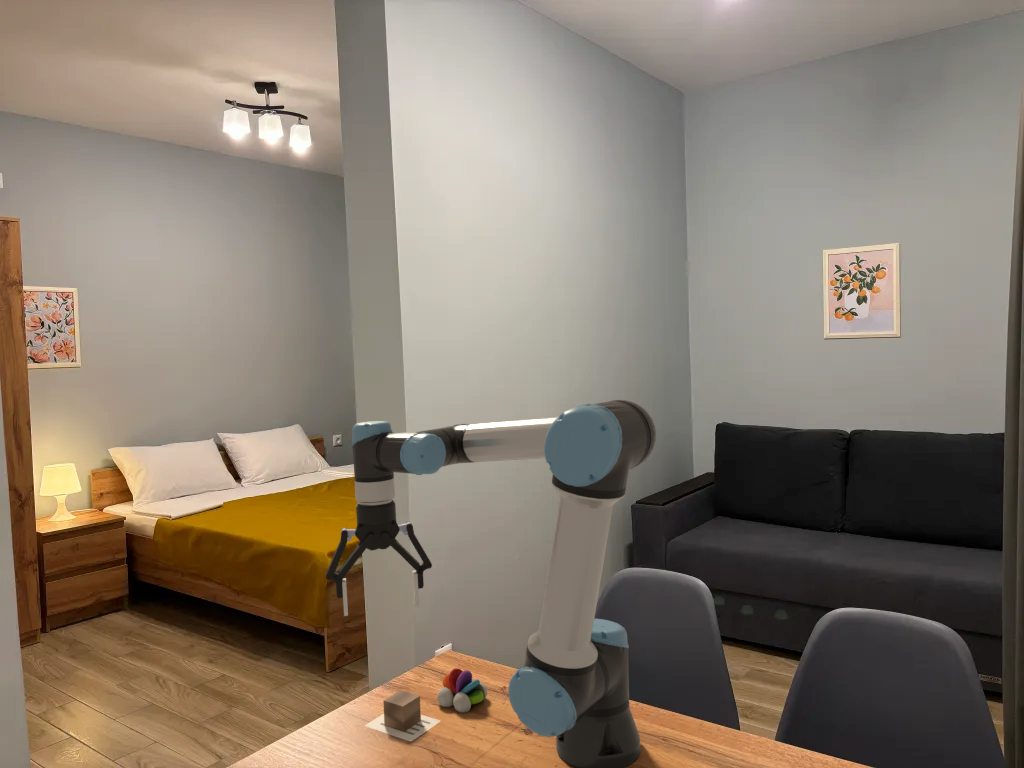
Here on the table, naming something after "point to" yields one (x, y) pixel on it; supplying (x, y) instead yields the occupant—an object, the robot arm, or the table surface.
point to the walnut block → (402, 710)
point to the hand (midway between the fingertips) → (381, 609)
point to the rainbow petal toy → (461, 690)
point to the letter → (408, 734)
